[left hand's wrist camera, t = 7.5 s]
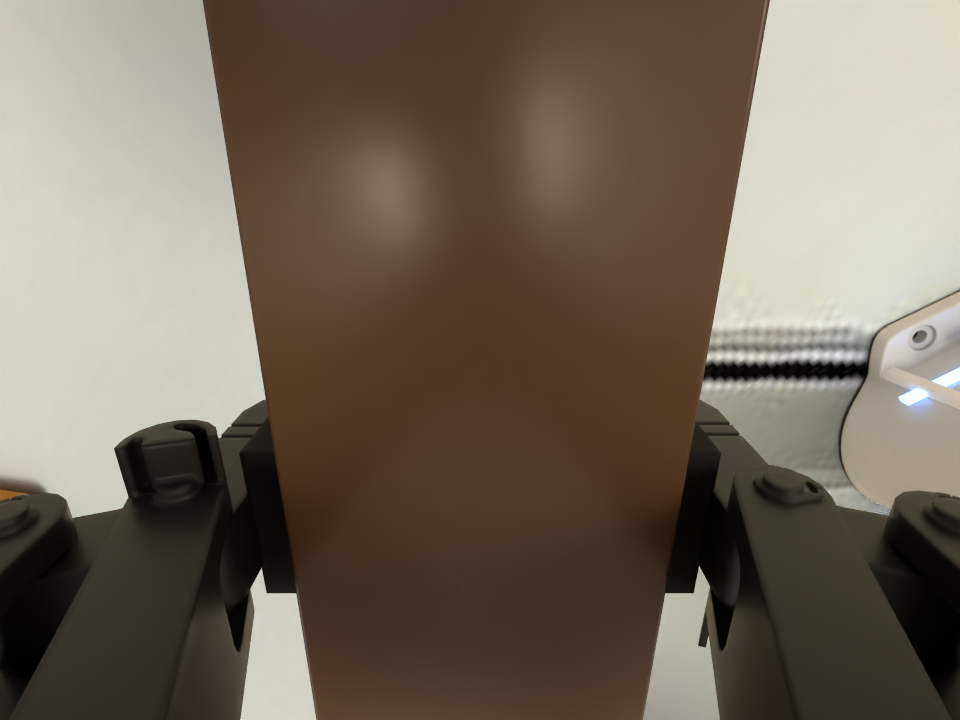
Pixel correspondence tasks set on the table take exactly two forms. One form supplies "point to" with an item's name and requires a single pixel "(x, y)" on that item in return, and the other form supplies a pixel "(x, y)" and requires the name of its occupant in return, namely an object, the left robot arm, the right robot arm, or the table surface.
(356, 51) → the beam
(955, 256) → the table surface
